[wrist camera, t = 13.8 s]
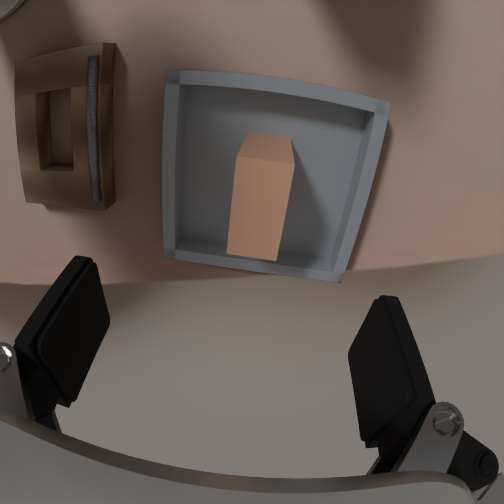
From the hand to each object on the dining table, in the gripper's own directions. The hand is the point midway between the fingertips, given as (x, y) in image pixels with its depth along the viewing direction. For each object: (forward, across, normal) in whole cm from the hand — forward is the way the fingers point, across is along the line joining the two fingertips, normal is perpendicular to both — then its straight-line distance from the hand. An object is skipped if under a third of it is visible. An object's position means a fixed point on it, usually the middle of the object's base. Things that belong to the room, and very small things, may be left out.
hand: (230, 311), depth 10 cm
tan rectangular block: (+15, -1, +1) cm, 15 cm away
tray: (+16, -1, +1) cm, 16 cm away
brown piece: (+16, +17, -2) cm, 24 cm away
